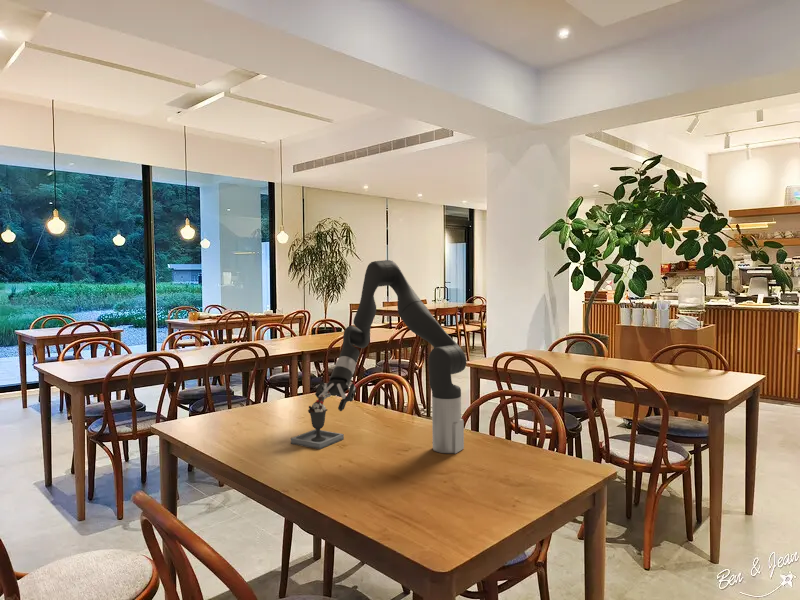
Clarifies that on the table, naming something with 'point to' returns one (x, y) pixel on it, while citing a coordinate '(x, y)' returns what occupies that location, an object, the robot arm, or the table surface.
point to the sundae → (318, 418)
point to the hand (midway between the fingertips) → (329, 409)
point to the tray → (307, 442)
